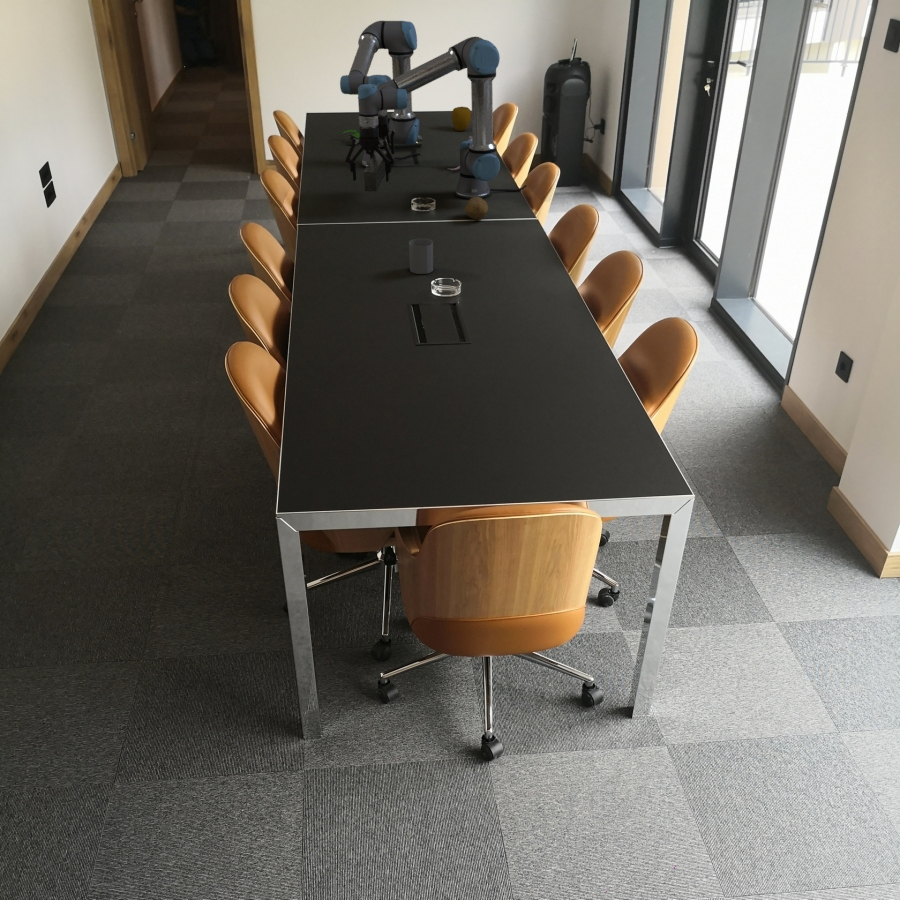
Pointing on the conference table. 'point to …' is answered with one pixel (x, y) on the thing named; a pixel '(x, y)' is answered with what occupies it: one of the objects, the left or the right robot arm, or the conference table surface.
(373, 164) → the bar
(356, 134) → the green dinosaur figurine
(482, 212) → the potato
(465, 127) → the yellow bell pepper
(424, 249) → the cup
